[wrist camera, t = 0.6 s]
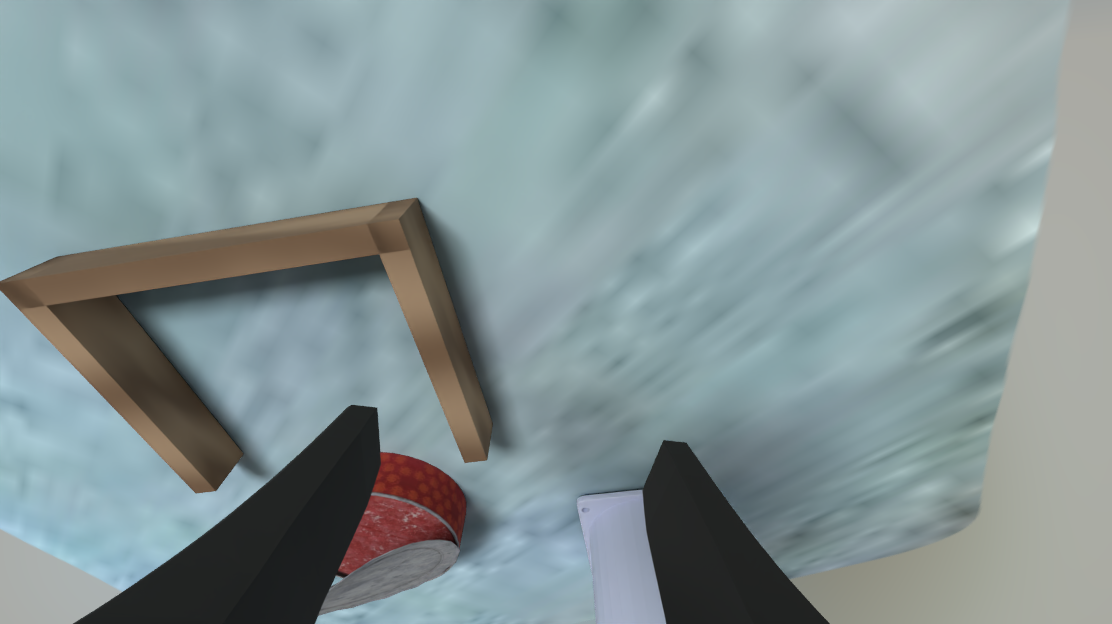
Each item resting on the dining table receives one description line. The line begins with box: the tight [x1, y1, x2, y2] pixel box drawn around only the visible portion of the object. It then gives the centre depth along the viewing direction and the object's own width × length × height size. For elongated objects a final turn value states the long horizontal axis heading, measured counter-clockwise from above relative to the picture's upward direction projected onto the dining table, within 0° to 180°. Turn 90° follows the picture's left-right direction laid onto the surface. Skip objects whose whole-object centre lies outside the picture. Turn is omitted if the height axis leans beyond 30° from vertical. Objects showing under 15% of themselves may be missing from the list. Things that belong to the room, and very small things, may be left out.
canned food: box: [318, 452, 466, 616], centre depth 26 cm, size 11×10×10 cm
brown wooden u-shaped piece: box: [0, 198, 493, 493], centre depth 21 cm, size 13×16×2 cm
